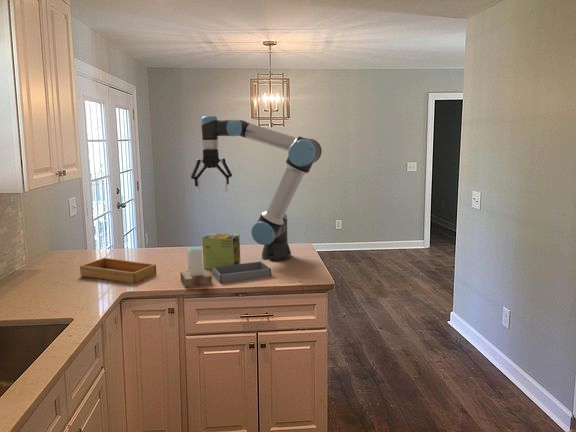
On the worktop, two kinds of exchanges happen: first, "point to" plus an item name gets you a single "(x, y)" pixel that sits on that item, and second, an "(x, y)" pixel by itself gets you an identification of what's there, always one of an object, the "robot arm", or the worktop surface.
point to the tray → (118, 270)
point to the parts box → (195, 261)
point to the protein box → (221, 250)
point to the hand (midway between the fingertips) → (212, 192)
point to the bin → (241, 272)
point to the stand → (195, 279)
